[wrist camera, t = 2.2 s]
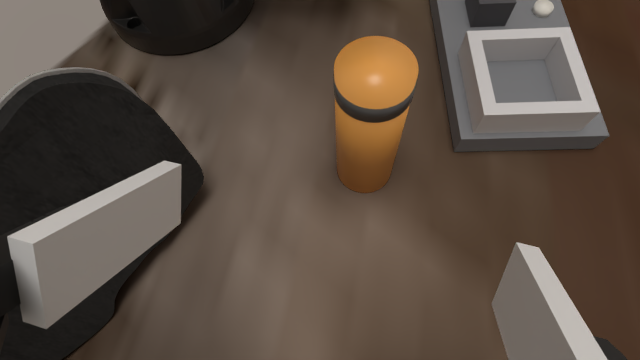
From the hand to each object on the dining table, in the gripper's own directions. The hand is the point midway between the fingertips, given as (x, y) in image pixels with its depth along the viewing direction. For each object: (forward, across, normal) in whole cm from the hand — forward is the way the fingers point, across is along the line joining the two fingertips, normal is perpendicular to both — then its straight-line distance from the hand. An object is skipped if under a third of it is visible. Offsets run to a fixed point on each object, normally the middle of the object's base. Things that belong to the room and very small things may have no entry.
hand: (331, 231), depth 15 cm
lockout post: (+16, 0, -3) cm, 17 cm away
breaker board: (+28, +9, +9) cm, 31 cm away
